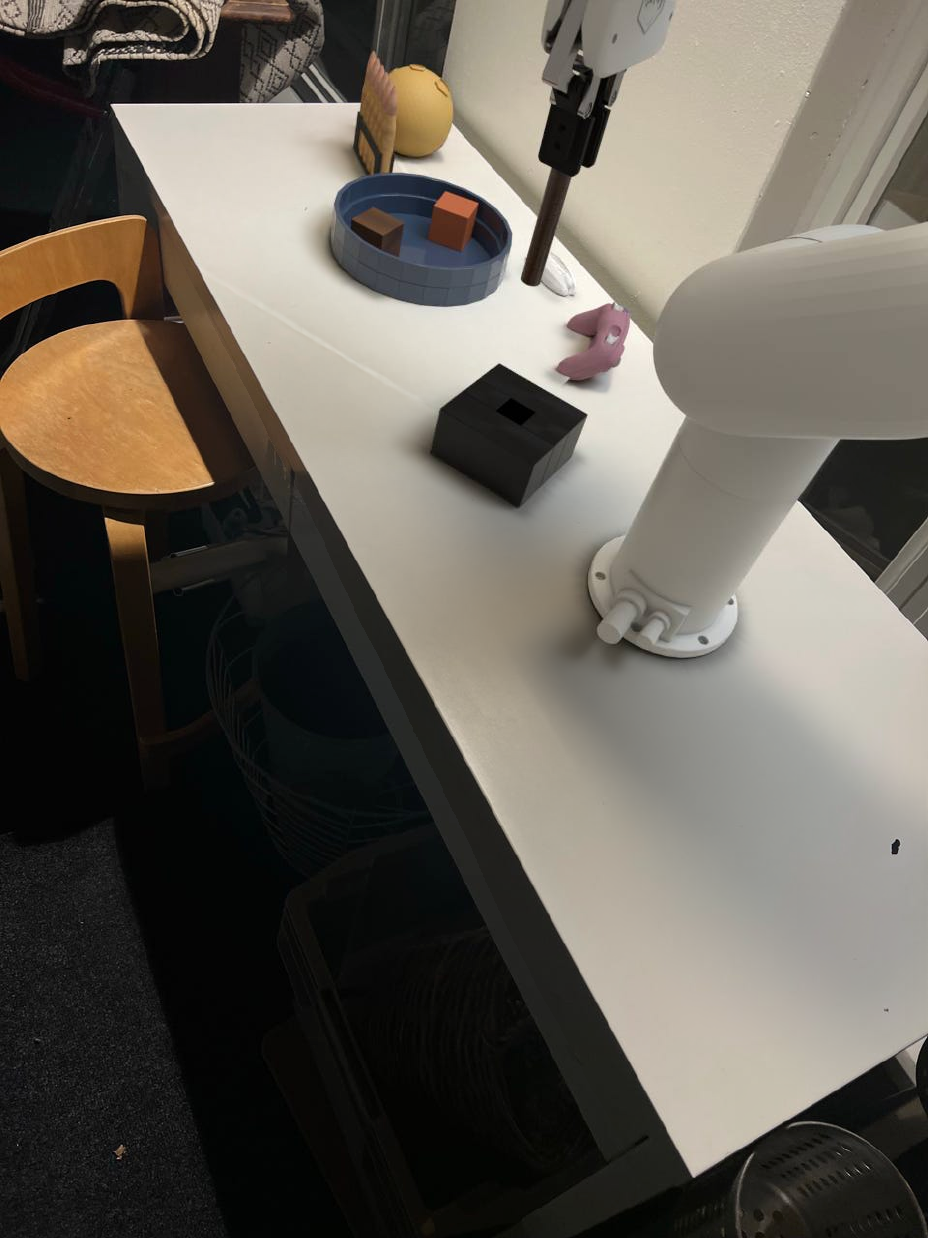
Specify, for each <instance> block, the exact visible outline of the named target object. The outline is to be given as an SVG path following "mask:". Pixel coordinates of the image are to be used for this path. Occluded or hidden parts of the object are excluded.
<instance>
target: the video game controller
mask: <svg viewBox="0 0 928 1238" xmlns="http://www.w3.org/2000/svg"><path fill="white" fill-rule="evenodd" d="M630 325H631V314H630V313H629V311H628V310H627V309H626V308H624V307H623V306H622V305H617V303H616V301H614V302H612V303H610V302H609V303H605V304H603V305H600V306H599V307H596V308H594V309H590V310H587V311H583V312H580V313H577V314H576V315H574V316H572V317H571V318H570V319H569V320H568V322H567V324H566V327H567V329H570V330H571V331H574V332H576V333H579V334H580V335H583V336H589V337H591V336H593V338H591V340H590V341H589V342H588V343H589V344H588V348H587V350H585V351H581V352H579V353H577V354H573V355H571V356H567V357H565V358H564V359H562V360H561V361H560V362H559V363H558V364H557V367H556V371H557V372H558V373H560V374H561V375H564V376H566V377H569V378H568V380H569V381H581V380H585V379H588V378H591V377H593V376H597V375H599V374H601V373H602V374H603V373H606V372H608V371H610V370H611V369H615V368H617V367H618V366H620V364H621V362H622V356H623V354H624V352H625V349H626V347H625V341H626V340H627V336H628V334H629V329H630Z"/></svg>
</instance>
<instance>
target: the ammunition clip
mask: <svg viewBox="0 0 928 1238" xmlns="http://www.w3.org/2000/svg"><path fill="white" fill-rule="evenodd" d="M360 97H361V98H360V106H359V110H358V111H357V114H356V121H355V122H356V123H355V128H354V129H355V131H354V136H353V137H354V138H353V146H352V148H353V150H354V152H355V154H356V156H357V159H358V160H359V162H360V164H361V166H362V169H363V171H364V173H365V174H366V176H367V175H372V174H377V173H394V172H393V171H394V166H395V157H396V154H395V153H396V152H395V151H393V148H394V141H395V133H396V112H397V90H396V87H395V86H394V87H393V84H392V80H391V79H389V78H388V72H387V71H385V68H384V65H383V64H381V62H380V58H379V57H377V54H376V51H375V50H372V52H371V53H370V56H369V59H368V62H367V65H366V71H365V77H364V84H363V86H362V90H361V96H360Z"/></svg>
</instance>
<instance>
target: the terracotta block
mask: <svg viewBox="0 0 928 1238" xmlns="http://www.w3.org/2000/svg"><path fill="white" fill-rule="evenodd" d="M478 204H479V203H476V202H474V201H471V200H468V199H465V198H463V197H460V196H457V195H454V194H452V193H449V192H446V191H445V192H444V194H443V195H442V196H441V198H440V199H439V200H438V201H437V203H436V204H435V205H434V209H433V214H432V220H431V225H430V230H429V236H428V240H430V241H433V242H435V243H438V244H441V245H444V246H446V247H449V248H452V249H455V250H457V251H460V252H461V251H462V249H463V248H464V246H465V245H466V244H467V242H468V241H469V239H470V238H471V236H472V231H473V227H474V222H475V218H476V213H477V209H478Z"/></svg>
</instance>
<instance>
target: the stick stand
mask: <svg viewBox="0 0 928 1238" xmlns="http://www.w3.org/2000/svg"><path fill="white" fill-rule="evenodd" d="M588 416H589V414H588V413H586V412H585V411H583V410H581V409H579V408H577V407H576V406H574V405H572V404H570V403H569V402H568V401H566V400H564V399H562V398H560V397H559V396H557V395H555V394H554V393H552V392H550V391H548V390H547V389H545V388H543V387H541V386H540V385H538V384H537V383H535V382H533V381H531V380H529V379H528V378H526V377H524V376H523V375H522V374H519V373H517V372H516V371H514V370H512V369H511V368H508V367H507V366H505V365H504V364H501V363H500V362H498V363H497V364H496V365H495V366H493V367H492V368H491V369H489V370H488V371H487V372H485V373H484V374H483V375H481V376H480V377H479V378H477V379H476V380H475V381H474V382H472V383H471V384H470V385H468V386H467V387H466V388H464V389H463V390H462V391H461V392H459V393H458V394H456V396H454V397H453V398H452V399H451V400H449V401H448V402H447V403H445V404H444V405H443V406H441V407H440V408H439V412H438V416H437V421H436V424H435V430H434V434H433V438H432V442H431V447H430V450H429V453H430V454H431V455H432V456H435V458H438V459H439V460H440V461H442V462H444V463H445V464H447V465H449V466H450V467H452V468H454V469H456V470H457V471H458V472H460V473H462V474H463V475H465V476H466V477H468V478H470V479H471V480H473V481H475V482H476V483H478V484H480V485H481V486H483V487H484V488H486V489H488V490H489V491H491V492H493V493H494V494H496V495H497V496H499V497H500V498H502V499H504V500H506V501H507V502H509V503H510V504H512V505H513V506H515V507H516V508H518V509H519V508H521V507H522V506H523V505H524V504H525V503H526V502H527V501H528V500H529V499H530V498H531V497H532V496H533V495H534V494H535V493H536V492H537V491H538V490H539V489H540V488H541V487H542V486H544V484H545V483H547V482H548V481H549V480H550V478H551V477H553V476H554V475H555V474H556V473H557V471H559V469H561V468H562V467H563V466H564V465H565V464H566V463H567V462H568V461H569V460H570V459H571V458H572V457H573V454H574V452H575V449H576V446H577V444H578V441H579V439H580V436H581V433H582V431H583V428H584V427H585V426H584V425H585V423H586V420H587V419H588Z"/></svg>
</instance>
